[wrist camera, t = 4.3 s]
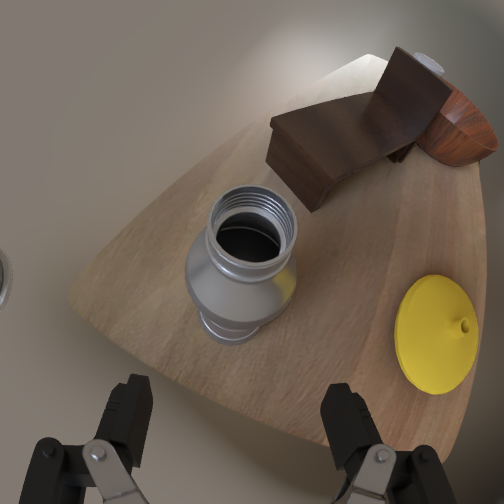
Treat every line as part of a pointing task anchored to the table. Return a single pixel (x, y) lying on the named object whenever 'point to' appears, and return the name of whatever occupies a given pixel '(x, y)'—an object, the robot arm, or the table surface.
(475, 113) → the bowl
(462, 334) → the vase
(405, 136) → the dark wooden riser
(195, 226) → the table surface
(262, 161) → the table surface
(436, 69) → the coffee cup
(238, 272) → the plastic bottle
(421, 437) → the table surface
